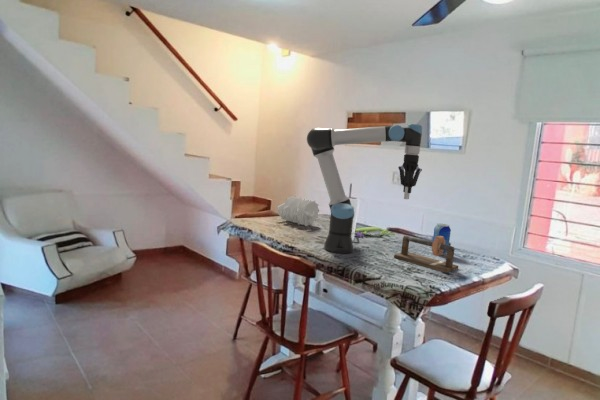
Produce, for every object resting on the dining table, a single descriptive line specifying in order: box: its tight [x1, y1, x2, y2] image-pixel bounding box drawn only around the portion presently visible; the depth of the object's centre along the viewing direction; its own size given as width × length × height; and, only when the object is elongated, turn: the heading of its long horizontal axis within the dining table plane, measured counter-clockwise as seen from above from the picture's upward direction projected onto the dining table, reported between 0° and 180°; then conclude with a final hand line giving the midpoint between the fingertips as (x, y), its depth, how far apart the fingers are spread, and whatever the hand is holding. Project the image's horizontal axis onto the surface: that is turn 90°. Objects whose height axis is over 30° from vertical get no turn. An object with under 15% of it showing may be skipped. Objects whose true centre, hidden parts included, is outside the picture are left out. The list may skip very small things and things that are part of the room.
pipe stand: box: [393, 234, 459, 274], centre depth 210 cm, size 12×28×11 cm, turn 45°
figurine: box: [354, 226, 396, 238], centre depth 264 cm, size 18×27×6 cm
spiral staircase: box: [276, 195, 320, 227], centre depth 282 cm, size 18×18×25 cm
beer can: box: [432, 223, 452, 256], centre depth 232 cm, size 8×8×16 cm
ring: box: [431, 236, 446, 257], centre depth 205 cm, size 9×2×9 cm, turn 135°
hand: (406, 198), depth 227 cm, fingers closed
